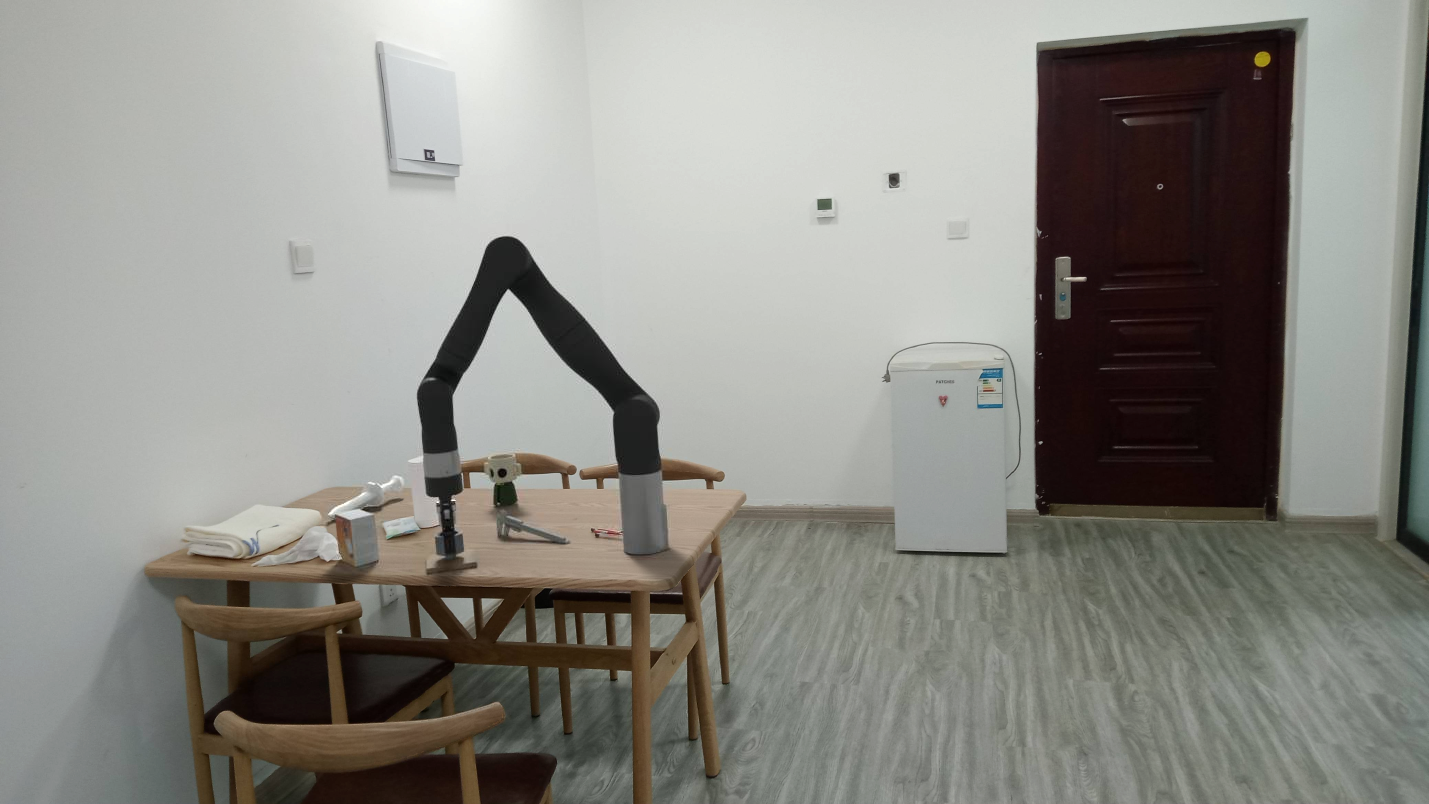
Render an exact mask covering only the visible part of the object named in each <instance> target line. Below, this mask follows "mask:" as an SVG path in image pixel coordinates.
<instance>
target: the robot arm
mask: <svg viewBox="0 0 1429 804" xmlns="http://www.w3.org/2000/svg"><path fill="white" fill-rule="evenodd" d="M481 258H482V259H481V260H480V261H481V262H480V263H479V264H480V265H479V268H478V269H477V270H478V271H477V274H476V276H475V278H474V279H475V280H474V281H473V284H472V286H471V288H470V291H469V293H468V295H467V297H466V299H465V302H464V303H463V305H462V307H461V309H460V310H459V313H458V314H457V316H456V318H455V320H454V321H453V323H452V325H451V327H450V329H448V332H447V333H446V335H445V337H444V340H443V341H442V343H441V345H440V346H439V349H438V351H437V353H436V356H435V359H434V361H433V362H432V364H430V367H429V368H428V370H427V372H426V373H425V375H424V376H423V379H422V380H421V382H420V383H419V385H418V388H417V391H416V400H417V401H416V402H417V403H416V404H417V409H418V414H419V419H420V425H421V445H422V456H423V457H422V467H423V476H424V478H423V479H424V488H425V495H426V496H428V497H430V498H438V501H436V502H435V504H436V505H435V506H436V513H437V515H438V523H439V527H441V531H442V532H443V533H442V536H443V538H444V546H445V554H447V555H449V554H455V553H456V545H455V534H456V532H455V529H456V528H455V526H456V525H457V515H456V512H457V505H456V499H453V498H452V497H453V496H458V495H461V493H462V492H463V491H464V484H463V475H462V464H461V463H462V462H461V456H460V453H459V446H458V434H457V428H456V426H455V421H454V420H455V419H454V418H455V416H454V394H455V392H456V390H457V388H458V386H459V384H460V382H461V380H462V377H463V375H464V374H465V373H466V372H467V370H468V369H469V368H470V367H471V365H472V362H473V361H474V360H475V358H476V356H477V354H478V352H479V350H480V348H481V346H482V344H483V342H484V340H485V338H486V335H487V332H488V331H489V328H490V325H491V322H492V320H493V317H494V315H495V312H496V310H497V308H498V307H499V304H500V302H501V301H502V299H503V298H504V295H505V294H506V293H507V292H508V290H509V291H510V293H512V294H513V296H514V297H515V298H516V299H517V300H518V301H519V302H520V303H521V304H522V305H523V306H524V308H525V309H526V310H527V312H528V313H529V315H530V317H531V318H532V320H533V321H534V324H535V326H536V327H537V328H538V330H539V332H540V333H541V335H542V337H544V339H545V340H546V341H547V343H548V345H549V346H550V347H551V348H552V349H553V351H554V353H556V354H557V356H558V357H559V358H560V359H561V360H562V361H563V362H564V364H565V365H566V366H567V367H569V369H570V370H572V372H574V373H575V374H577V375H578V376H579V377H580V378H581V379H583V380H584V381H585V382H587V383H589V384H590V385H591V386H592V387H593V388H594V389H595V390H596V391H597V392H598V393H599V394H600V395H601V396H602V399H604V401H605V402H606V403H607V404H608V406H609V407H610V409H611V410H612V412H613V416H612V432H613V445H614V455H615V460H616V462H617V463H616V464H617V469H618V485H619V499H620V500H619V501H620V513H621V514H620V516H621V531H622V544H623V545H622V546H623V547H622V548H623V552H625V553H627V554H630V555H652V554H656V553H659V552H662V551H664V550H670V544H669V541H670V539H669V528H668V527H669V526H668V525H669V523H668V509H667V508H668V507H667V505H666V504H665V501H664V486H663V485H664V482H663V470H662V469H663V468H662V457H661V453H660V448H659V447H660V446H659V432H658V430H659V429H658V425H659V423H660V420H661V419H660V418H661V411H660V409H659V406H658V404H657V402H656V401H655V399H654V398H652V396H651V395H650V394H649V393H647V392H646V391H645V390H644V389H643V388H642V387H641V386H640V385H639V384H638V383H637V382H636V381H635V380H634V379H633V378H632V377H631V375H629V374H628V372H627V371H625V369H624V368H623V366H622V365H621V364H620V362H619V361H618V359H617V358H616V357H615V356H614V354H613V353H612V351H611V349H609V347H608V346H607V344H606V343H605V342H604V340H603V339H602V338H601V337H600V335H599V334H598V333H597V331H596V329H594V328H593V327H592V325H591V324H590V323H589V322H588V320H587V319H586V318H585V317H584V316H583V314H582V313H581V312H580V311H578V309H577V308H576V307H575V306H574V305H573V303H571V302H570V301H569V300H568V299H566V297H564V295H562V294H561V293H560V292H559V291H558V290H557V289H556V288H555V287H554V285H552V284H551V282H550V281H549V280H548V278H547V277H546V276H545V274H544V273H543V271H542V270H541V268H540V267H539V265H538V264H537V262H536V261H535V259H534V258H533V256H532V253H531V252H530V250H529V249H528V247H527V246H526V245H525V244H524V243H523V242H522V241H520V239H518V238H517V237H514V236H512V235H500V236H497V237H494V238H492V240H490V241H489V243H488V244H487V245H486V246H485V249H484V252H483V255H482V257H481ZM445 530H447V531H445Z"/></svg>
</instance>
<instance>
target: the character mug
mask: <svg viewBox="0 0 1429 804" xmlns="http://www.w3.org/2000/svg"><path fill="white" fill-rule="evenodd" d="M483 467H484V474H485V475H487V476H488V478H489V481H490V482H492V483H495V484H494V485H493V500H492V501H493V505H494V506H495V507H498V506H499V505H500V507H507V506H512V505H515V504H516V503H517V502H518V494H517V491H516V486H515V484H514V482H513V481H516V480H517V478H518V477H520V476H522V473H523V472H522V465H521V463H517V458H516V454H514V453H501V454H500V453H499V454H493V455H490V456H488V458H487V462H484V464H483ZM498 504H499V505H498Z"/></svg>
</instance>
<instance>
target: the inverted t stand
mask: <svg viewBox="0 0 1429 804" xmlns="http://www.w3.org/2000/svg"><path fill="white" fill-rule="evenodd" d="M425 563H426V574H434V573H440V572H439V571H441V572H447V570H448V571H455V570H461V569H468V568H477V567H478V563H477V557H476V553H475V548H469V549H468V548H466V549H464V552H462V553H459V554H457V555H451V556H439V555H437V554H436V553H429V554H426V562H425ZM454 569H455V570H454Z"/></svg>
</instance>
